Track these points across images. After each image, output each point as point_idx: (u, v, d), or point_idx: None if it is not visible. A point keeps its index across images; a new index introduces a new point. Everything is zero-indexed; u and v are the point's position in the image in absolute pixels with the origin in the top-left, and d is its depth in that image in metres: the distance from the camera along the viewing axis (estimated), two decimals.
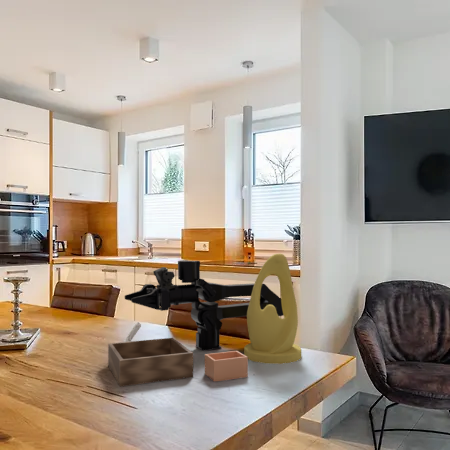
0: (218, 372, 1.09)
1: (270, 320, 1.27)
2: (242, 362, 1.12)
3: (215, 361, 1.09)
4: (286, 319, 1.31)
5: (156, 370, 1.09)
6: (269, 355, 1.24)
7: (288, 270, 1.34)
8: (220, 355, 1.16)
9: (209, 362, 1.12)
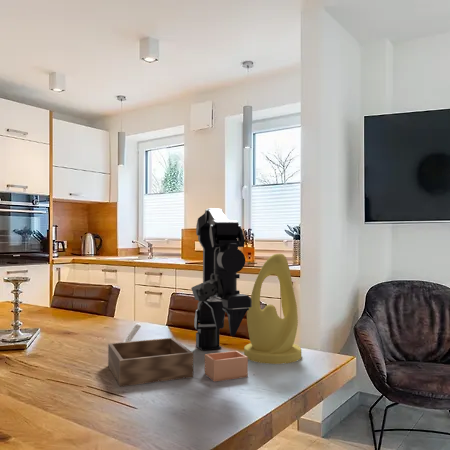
0: (218, 372, 1.09)
1: (270, 320, 1.27)
2: (242, 362, 1.12)
3: (215, 361, 1.09)
4: (286, 319, 1.31)
5: (156, 370, 1.09)
6: (269, 355, 1.24)
7: (288, 270, 1.34)
8: (220, 355, 1.16)
9: (209, 362, 1.12)
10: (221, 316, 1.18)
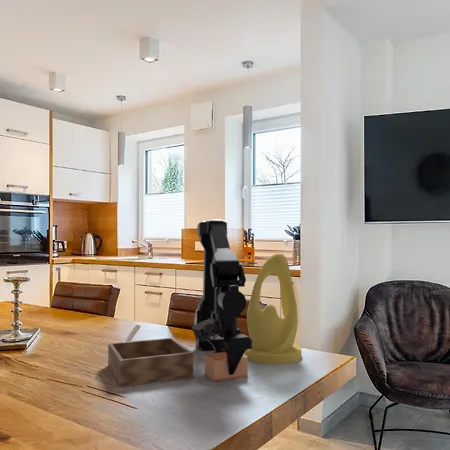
0: (218, 372, 1.09)
1: (270, 320, 1.27)
2: (242, 362, 1.12)
3: (215, 361, 1.09)
4: (286, 319, 1.31)
5: (156, 370, 1.09)
6: (269, 355, 1.24)
7: (288, 270, 1.34)
8: (220, 355, 1.16)
9: (209, 362, 1.12)
10: None
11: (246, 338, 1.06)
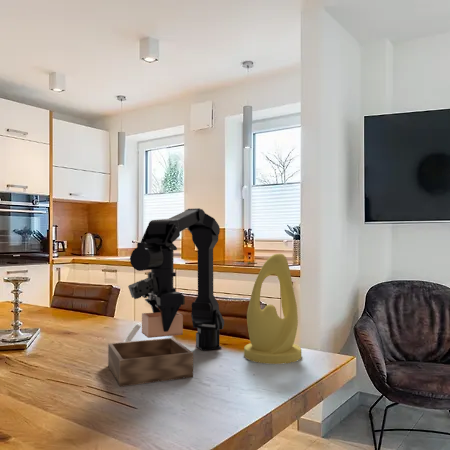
0: (152, 329, 1.12)
1: (270, 320, 1.27)
2: (177, 320, 1.15)
3: (149, 318, 1.12)
4: (286, 319, 1.31)
5: (156, 370, 1.09)
6: (269, 355, 1.24)
7: (288, 270, 1.34)
8: (158, 315, 1.19)
9: (145, 320, 1.15)
10: None
11: (178, 294, 1.09)
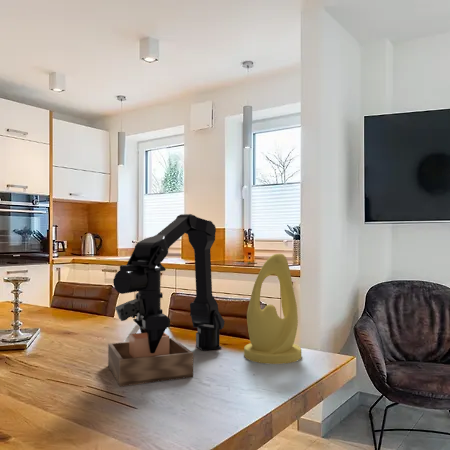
0: (138, 350, 1.13)
1: (270, 320, 1.27)
2: (163, 341, 1.16)
3: (135, 340, 1.13)
4: (286, 319, 1.31)
5: (156, 370, 1.09)
6: (269, 355, 1.24)
7: (288, 270, 1.34)
8: (145, 335, 1.20)
9: (131, 341, 1.15)
10: None
11: (163, 317, 1.10)
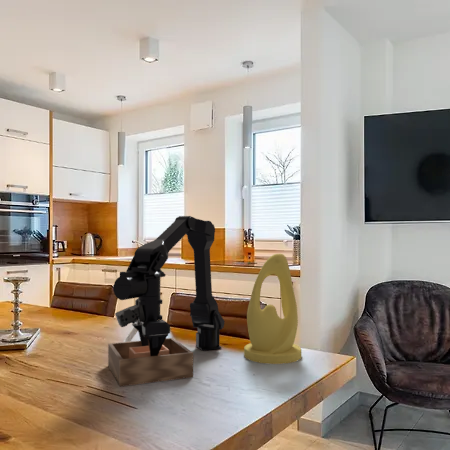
0: None
1: (270, 320, 1.27)
2: None
3: (135, 354, 1.13)
4: (286, 319, 1.31)
5: (156, 370, 1.09)
6: (269, 355, 1.24)
7: (288, 270, 1.35)
8: (145, 348, 1.20)
9: (131, 355, 1.15)
10: (148, 339, 1.22)
11: (163, 323, 1.10)
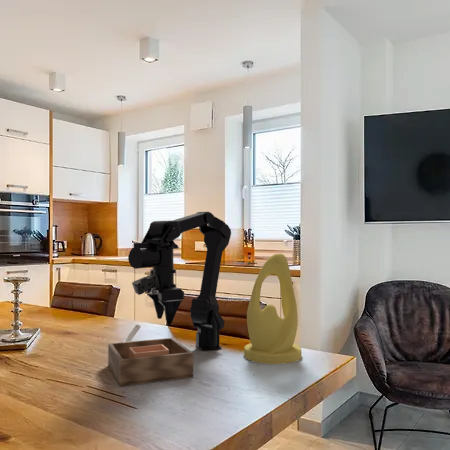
0: None
1: (270, 320, 1.27)
2: None
3: (135, 354, 1.13)
4: (286, 319, 1.31)
5: (156, 370, 1.09)
6: (269, 355, 1.24)
7: (288, 270, 1.34)
8: (145, 348, 1.20)
9: (131, 355, 1.15)
10: (162, 307, 1.31)
11: (178, 290, 1.18)
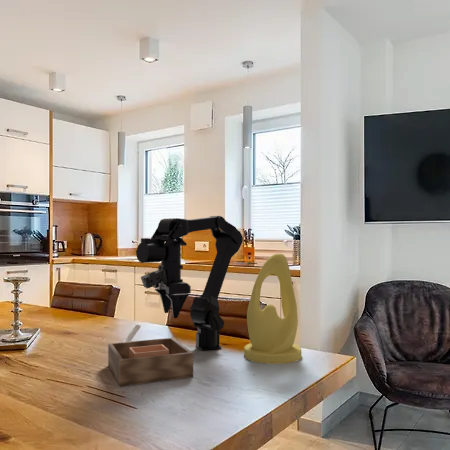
0: None
1: (270, 320, 1.27)
2: None
3: (135, 354, 1.13)
4: (286, 319, 1.31)
5: (156, 370, 1.09)
6: (269, 355, 1.24)
7: (288, 270, 1.35)
8: (145, 348, 1.20)
9: (131, 355, 1.15)
10: (169, 302, 1.36)
11: (185, 284, 1.23)
